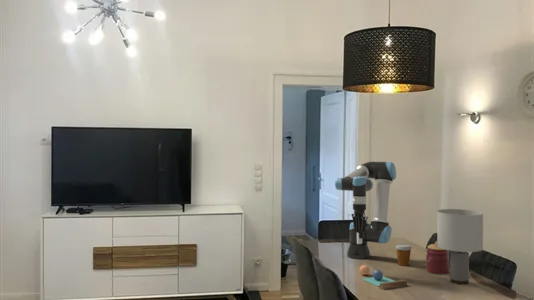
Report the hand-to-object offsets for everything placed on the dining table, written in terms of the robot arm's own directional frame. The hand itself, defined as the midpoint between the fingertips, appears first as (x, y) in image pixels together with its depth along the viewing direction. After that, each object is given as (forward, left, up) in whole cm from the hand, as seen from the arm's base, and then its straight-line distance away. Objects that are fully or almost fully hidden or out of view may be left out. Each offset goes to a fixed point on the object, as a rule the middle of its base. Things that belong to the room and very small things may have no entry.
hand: (359, 243), depth 267 cm
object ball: (+17, 0, -14) cm, 22 cm away
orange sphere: (+6, -1, -14) cm, 15 cm away
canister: (+18, +43, -17) cm, 49 cm away
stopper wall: (+31, 0, -17) cm, 35 cm away
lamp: (+39, +38, -17) cm, 57 cm away
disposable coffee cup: (-2, +35, -17) cm, 39 cm away
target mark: (+20, 0, -17) cm, 26 cm away
